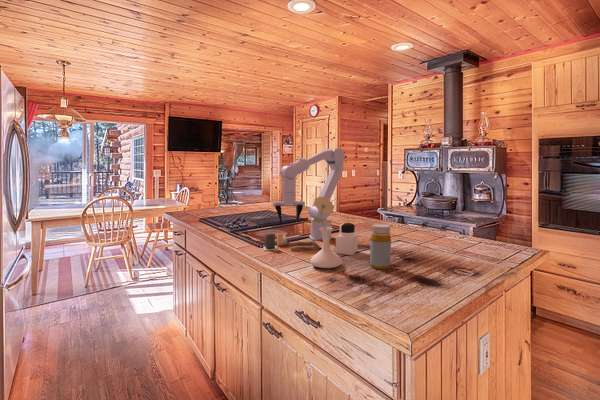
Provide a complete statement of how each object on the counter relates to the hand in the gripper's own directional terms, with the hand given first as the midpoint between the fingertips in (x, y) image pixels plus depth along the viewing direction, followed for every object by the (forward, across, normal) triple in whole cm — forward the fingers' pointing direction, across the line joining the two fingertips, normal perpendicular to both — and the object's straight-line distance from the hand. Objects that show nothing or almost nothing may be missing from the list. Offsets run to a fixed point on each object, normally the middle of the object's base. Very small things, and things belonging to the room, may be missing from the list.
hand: (288, 221), depth 155 cm
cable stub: (+9, +10, +10) cm, 17 cm away
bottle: (+10, -27, +41) cm, 50 cm away
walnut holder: (+9, -5, +10) cm, 15 cm away
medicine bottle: (+10, -21, +21) cm, 31 cm away
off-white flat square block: (+9, +10, +10) cm, 17 cm away
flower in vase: (+10, -8, +36) cm, 38 cm away
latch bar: (+9, +4, +1) cm, 10 cm away
